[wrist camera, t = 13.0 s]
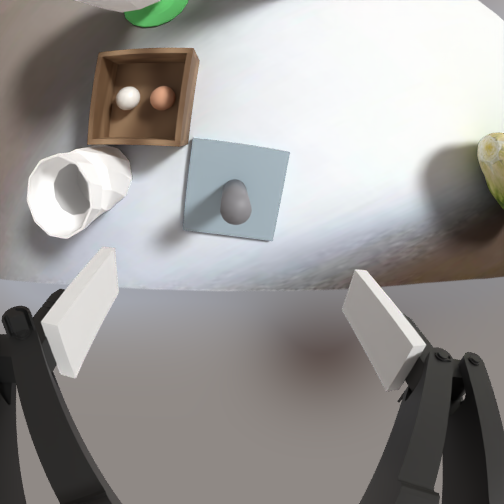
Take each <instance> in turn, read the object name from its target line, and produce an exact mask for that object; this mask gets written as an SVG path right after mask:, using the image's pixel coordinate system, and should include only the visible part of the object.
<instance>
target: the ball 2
mask: <svg viewBox="0 0 504 504" xmlns="http://www.w3.org/2000/svg"><path fill="white" fill-rule="evenodd" d="M175 98H176V97H175V93H174V91H173V90H172V89H171V88H170V87H167V86H161V87H158V88H156V89H155V90H154V91H153V92H152V94H151V96H150V103H151V105H152V106H153V107H154V108H155V109H157V110H167V109H169V108H170V107H171V106H172V105H173V104H174V102H175Z"/></svg>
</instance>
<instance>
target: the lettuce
mask: <svg viewBox="0 0 504 504" xmlns="http://www.w3.org/2000/svg"><path fill="white" fill-rule="evenodd" d="M477 156H478V161H479V164H480V168H481V170H482V172H483V174H484V176H485V179H486V183H487V186H488V188H489V190H490V192H491V194H492V195H493V197H494V198H495V199H496V200H497V202H498V203H499V205H500V206H501V207H502V208H503V209H504V133H491V134H488V135H487V136H485V137H483V138H482V139H481V140H480V142H479V144H478V154H477Z"/></svg>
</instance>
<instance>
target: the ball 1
mask: <svg viewBox="0 0 504 504" xmlns="http://www.w3.org/2000/svg"><path fill="white" fill-rule="evenodd" d="M139 101H140V93H139V91H138V90H137V89H136V88H134V87H125V88H123V89H121V90H120V91H119V92H118V94H117V96H116V104H117V106H118V107H119V108H120V109H122V110H131V109H133V108H135V107H136V106H137V105H138V103H139Z"/></svg>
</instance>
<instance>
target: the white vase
mask: <svg viewBox="0 0 504 504" xmlns="http://www.w3.org/2000/svg"><path fill="white" fill-rule="evenodd" d="M131 181H132V174H131V168H130V161H129V160H128V159H127V158H126V157H125V156H124V154H123V153H122V152H121V151H120V150H119V149H118V148H115V147H110V146H106V145H95V146H90V147H86V148H80V149H75V150H73V151H71V152H69V153H59V154H56V155H53V156H50V157H47V158H45V159H42V160H40V161H39V163H38V164H37V166H36V167H35V169H34V171H33V172H32V174H31V175H30V177H29V182H28V193H27V202H28V205H29V208H30V211H31V214H32V216H33V219H34V222H35V223H36V224H37V225H38V226H39V227H41V228H42V229H43V230H44V231H45V232H46V233H47V234H48V235H49V236H53V237H59V238H65V239H68V238H70V237H71V236H73V235H75V234H76V233H78V232H80V231H81V230H83V229H85V228H86V227H88V226H89V225H90V223H91V222H92V221H94V220H95V219H96V218H97V217H98V216H100V215H101V214H102V213H104V212H106V211H108V210H110V209H111V208H112V207H113V206H114V205H115V204H116V203H118V202H119V201H120V200H121V199H123V198H124V197H125V196H126V195H127V192H128V190H129V187H130V184H131Z"/></svg>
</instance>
